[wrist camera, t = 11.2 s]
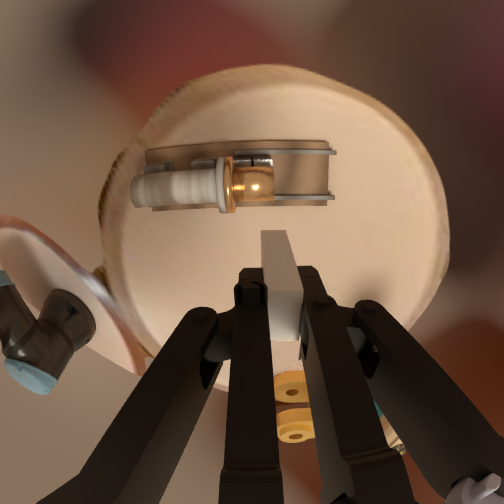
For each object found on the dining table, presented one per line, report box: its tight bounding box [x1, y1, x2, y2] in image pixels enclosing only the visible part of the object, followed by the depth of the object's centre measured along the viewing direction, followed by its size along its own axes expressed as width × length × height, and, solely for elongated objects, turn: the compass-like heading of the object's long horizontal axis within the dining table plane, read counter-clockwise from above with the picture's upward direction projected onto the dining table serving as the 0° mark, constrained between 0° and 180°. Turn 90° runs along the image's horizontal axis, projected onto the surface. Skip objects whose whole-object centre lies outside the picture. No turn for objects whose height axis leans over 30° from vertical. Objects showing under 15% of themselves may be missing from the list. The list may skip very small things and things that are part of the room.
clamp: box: [274, 371, 315, 443], centre depth 55 cm, size 20×9×16 cm, turn 88°
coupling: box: [224, 156, 274, 213], centre depth 35 cm, size 6×7×10 cm
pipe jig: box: [130, 141, 337, 213], centre depth 36 cm, size 29×10×12 cm, turn 92°
